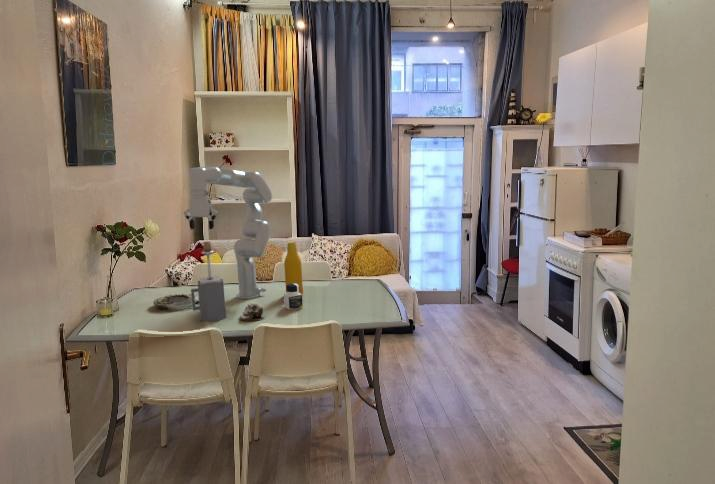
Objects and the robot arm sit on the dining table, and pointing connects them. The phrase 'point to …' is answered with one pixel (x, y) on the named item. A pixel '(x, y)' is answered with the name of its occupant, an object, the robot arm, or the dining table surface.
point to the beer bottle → (293, 267)
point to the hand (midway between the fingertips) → (201, 228)
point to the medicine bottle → (293, 297)
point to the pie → (175, 302)
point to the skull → (252, 312)
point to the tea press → (210, 299)
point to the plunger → (208, 251)
